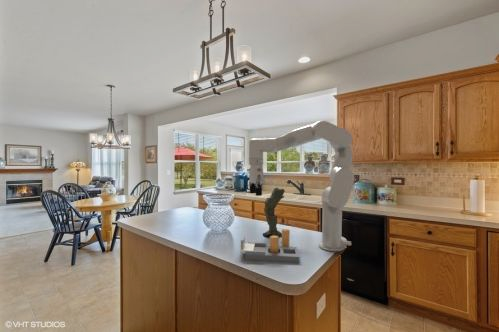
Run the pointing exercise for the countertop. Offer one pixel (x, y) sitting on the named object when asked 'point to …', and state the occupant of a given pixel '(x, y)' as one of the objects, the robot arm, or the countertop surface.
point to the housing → (264, 254)
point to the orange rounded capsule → (274, 244)
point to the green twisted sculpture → (272, 212)
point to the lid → (246, 246)
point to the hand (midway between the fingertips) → (255, 194)
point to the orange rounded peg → (285, 237)
